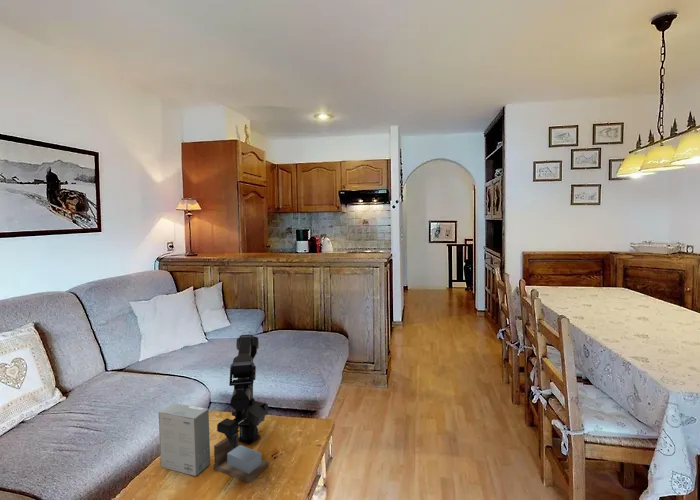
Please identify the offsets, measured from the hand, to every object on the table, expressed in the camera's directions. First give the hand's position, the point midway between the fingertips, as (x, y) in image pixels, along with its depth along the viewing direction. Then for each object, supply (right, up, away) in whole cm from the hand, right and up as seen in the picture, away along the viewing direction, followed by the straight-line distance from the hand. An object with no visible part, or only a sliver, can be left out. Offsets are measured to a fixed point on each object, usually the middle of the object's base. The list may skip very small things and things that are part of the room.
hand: (243, 441), depth 133 cm
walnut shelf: (-1, -10, +1) cm, 10 cm away
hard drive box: (-21, -10, +3) cm, 23 cm away
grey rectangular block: (0, -8, +1) cm, 8 cm away
